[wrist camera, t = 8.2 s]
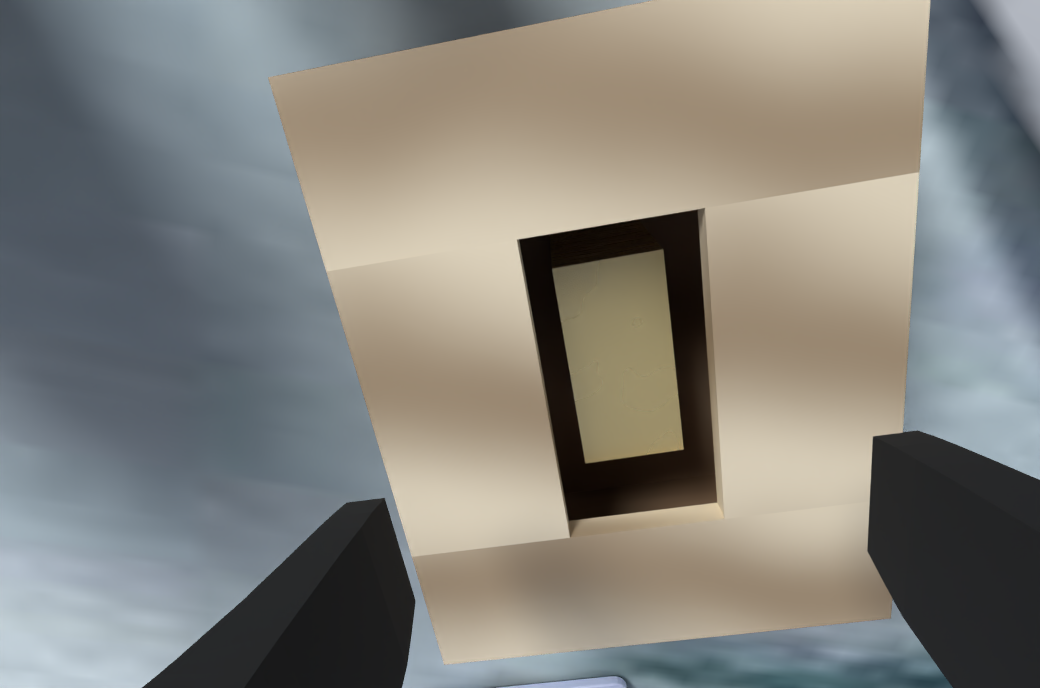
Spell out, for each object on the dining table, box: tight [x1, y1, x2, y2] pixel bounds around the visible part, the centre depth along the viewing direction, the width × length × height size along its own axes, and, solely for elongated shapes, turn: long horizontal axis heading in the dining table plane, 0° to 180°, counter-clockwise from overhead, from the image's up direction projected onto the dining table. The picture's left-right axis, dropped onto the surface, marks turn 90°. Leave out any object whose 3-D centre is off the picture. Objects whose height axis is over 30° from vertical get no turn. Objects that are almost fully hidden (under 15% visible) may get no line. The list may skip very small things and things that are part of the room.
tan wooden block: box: [549, 219, 684, 463], centre depth 16 cm, size 5×2×4 cm, turn 11°
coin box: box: [268, 0, 930, 665], centre depth 15 cm, size 14×11×6 cm
